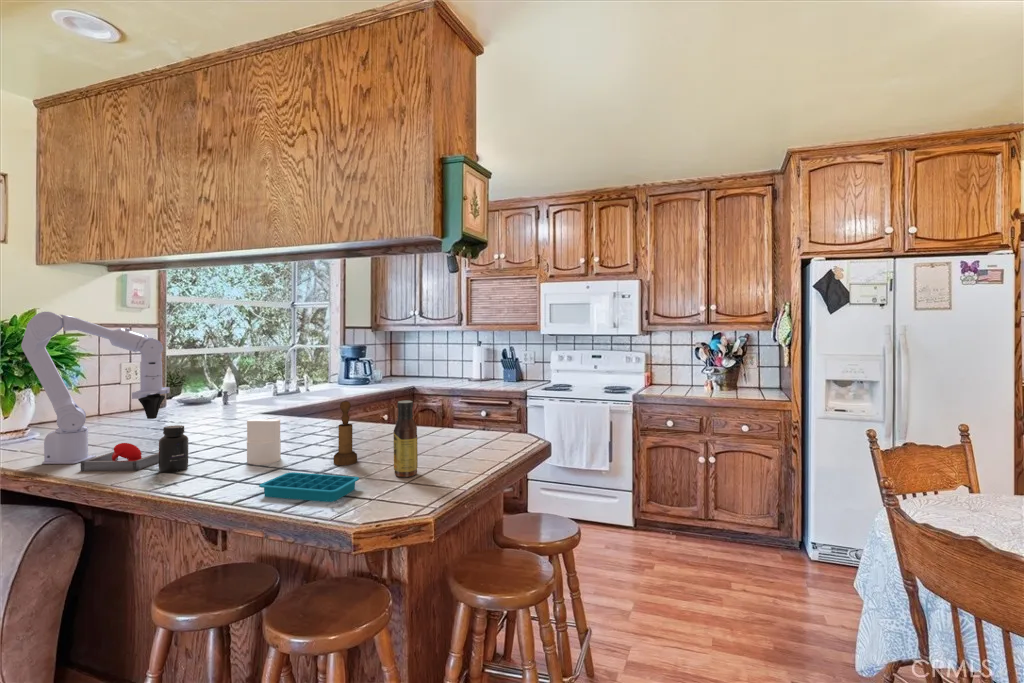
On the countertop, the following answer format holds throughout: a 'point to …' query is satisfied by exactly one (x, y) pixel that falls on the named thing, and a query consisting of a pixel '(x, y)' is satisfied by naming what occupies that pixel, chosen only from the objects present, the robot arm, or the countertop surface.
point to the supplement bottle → (173, 449)
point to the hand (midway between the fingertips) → (151, 418)
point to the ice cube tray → (309, 486)
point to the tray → (117, 463)
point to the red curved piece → (127, 452)
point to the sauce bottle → (405, 441)
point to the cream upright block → (263, 441)
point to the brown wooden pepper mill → (345, 439)
